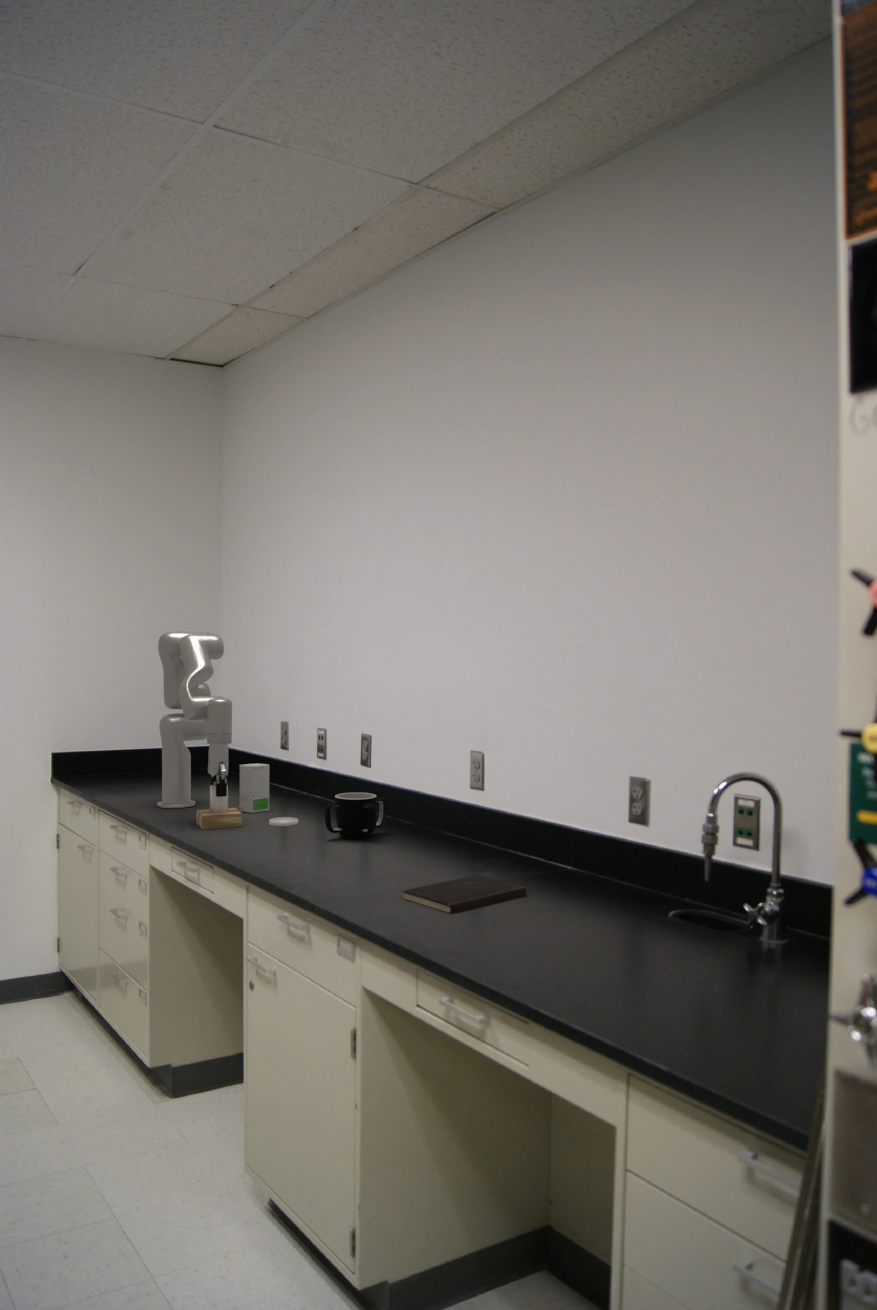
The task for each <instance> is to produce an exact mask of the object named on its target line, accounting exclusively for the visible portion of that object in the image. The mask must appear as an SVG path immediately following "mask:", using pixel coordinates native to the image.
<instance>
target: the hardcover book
mask: <svg viewBox="0 0 877 1310" xmlns="http://www.w3.org/2000/svg"><path fill="white" fill-rule="evenodd" d="M401 891H402V893H403V894H404V895H403V899H404V900H407V901H410V902H414V903H416V904H420V905H422V906H426V907H430V908H433V909H436V910H439V911H441V912H446V913H448V912H449V913H448V914H450V913H452V914H455V912H456V913H461V912H463V911H467V910H473V909H477V908H480V907H479V906H481V907H484V906H483V905H485V906H489V905H492V904H491V903H493V904H496V902H497V903H500V902H501V901H502V902H504V901H503V900H506V901H508V900H507V899H510V900H513V899H512V898H514V899H517V898H516V897H518V898H521V897H520V896H522V897H525V896H524V895H526V896H527V889H526V887H525V886H521V885H519V884H515V883H510V882H506V881H503V880H500V879H495V878H491V877H489V876H483V875H480V874H475V875H470V876H464V877H460V878H456V879H452V880H446V881H442V882H441V881H440V882H438V883H432V884H428V885H422V886H418V887H414V888H408V889H404V890H401ZM488 904H489V905H488ZM476 907H477V908H476ZM472 908H473V909H472Z"/></svg>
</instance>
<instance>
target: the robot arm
mask: <svg viewBox="0 0 877 1310" xmlns="http://www.w3.org/2000/svg"><path fill="white" fill-rule="evenodd" d="M157 645H158V646H157V647H158V648H157V651H158V655H159V658H160V662H161V665H162V669H163V677H162V678H163V701H164V702H163V703H164V706H165V707H166V708H167V709H170V710H182V713H181V712H180V713H177V712H176V713H170V714H169V713H168V714H165V715H164V716H162V718H161V719H160V720H159V727H158V729H159V734H160V740H161V771H162V772H161V774H162V775H161V784H162V785H161V800H160V801H158V802H157V803H156V804H157V807H158V808H164V809H183V808H189V807H193V806H195V805H196V801H195V800H193V799H191V796H192V795H191V791H192V789H191V787H192V784H191V783H192V782H191V781H192V780H191V779H192V775H191V774H192V773H191V771H192V765H191V762H192V759H191V758H192V755H191V751H190V750H189V748H188V747H187V746H186V744H185V743H184V742H191V741H204V740H206V744H207V745H209V747H208V758H207V759H208V761H207V762H208V763H207V773H208V774H209V775H210V776H211V778H210V785H214V782H215V781H217V783H216V796H217V797H223V796H227V785H228V782H227V776H228V775H229V745H231V744H232V743H233V742H232V741H233V740H232V739H233V702H232V700H231V699H229V698H226V697H224V696H221V695H212V692H211V689H210V686H209V685H208V684H207V683H206V682H207V681H209V680H210V679H211V678H212V677H213V675H214V668H213V665H212V662H211V660H220V659H222V658H223V656H224V652H225V644H224V641H223V640H222V638H221V637H220V636H219V635H218V634H217V633H211V632H208V631H178V630H177V631H176V630H175V631H168V632H163V634H161V635H160V636H159V639H158V644H157Z"/></svg>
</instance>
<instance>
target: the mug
mask: <svg viewBox="0 0 877 1310" xmlns="http://www.w3.org/2000/svg"><path fill="white" fill-rule="evenodd" d="M377 804H379V805H377ZM377 806H379V809H378V810H379V812H378V813H379V814H378V815H379V816H378V819H377ZM333 808H334V811H335V820H336V826H337V828H333V825H332V809H333ZM385 819H386V801H385V800H384V799H383V798H381V797H377V795H376V794H374V793H370V792H343V793H342V792H341V793H339V794H335V796H334V801H333V802H329V803H327V804H326V806H325V807H324V824H325V826H326V829H327V831H328V832H329V833H331V834H339V836H340V837H342V838H343V839H348V840H360V839H367V838H369V837H370V836H372V835H373V834H374V833H375V831H376V829H377V828H378V829H379V828H380V827H382V826H383V824H384V822H385Z"/></svg>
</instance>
